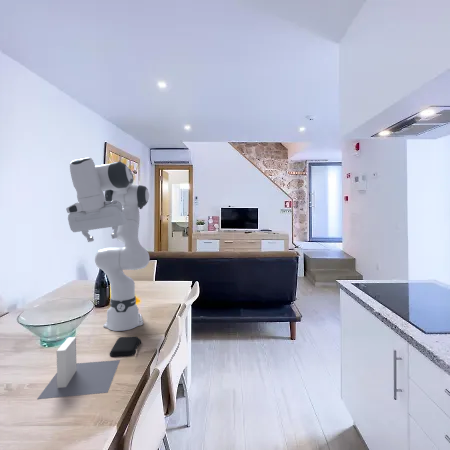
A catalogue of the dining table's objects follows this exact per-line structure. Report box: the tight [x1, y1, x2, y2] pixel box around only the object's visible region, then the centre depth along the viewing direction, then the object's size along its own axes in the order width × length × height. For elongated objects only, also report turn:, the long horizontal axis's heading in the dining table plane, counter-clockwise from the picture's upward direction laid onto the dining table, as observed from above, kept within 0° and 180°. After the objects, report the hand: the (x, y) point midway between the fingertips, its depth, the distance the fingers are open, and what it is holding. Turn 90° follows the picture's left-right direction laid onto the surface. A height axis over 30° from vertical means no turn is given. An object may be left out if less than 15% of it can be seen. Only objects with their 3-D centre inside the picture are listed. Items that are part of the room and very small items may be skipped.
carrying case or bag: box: [109, 336, 142, 358], centre depth 120 cm, size 11×3×15 cm
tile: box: [56, 336, 77, 388], centre depth 97 cm, size 10×3×12 cm, turn 9°
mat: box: [37, 359, 121, 400], centre depth 98 cm, size 20×20×1 cm
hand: (103, 239), depth 108 cm, fingers open, 8 cm apart
